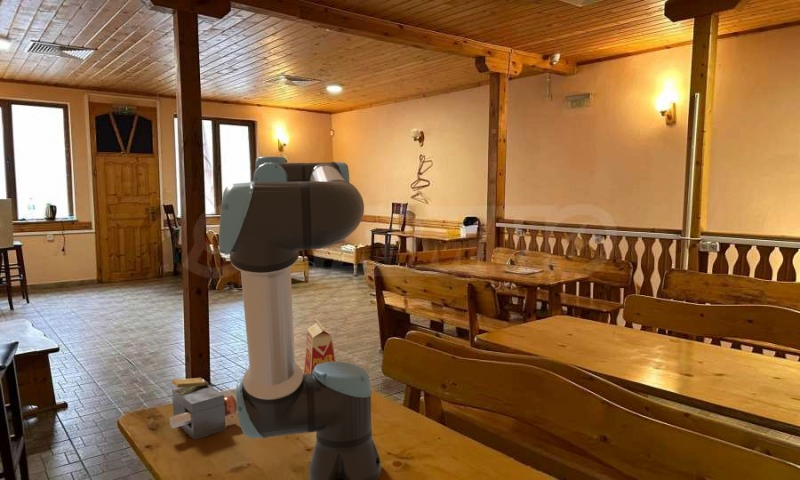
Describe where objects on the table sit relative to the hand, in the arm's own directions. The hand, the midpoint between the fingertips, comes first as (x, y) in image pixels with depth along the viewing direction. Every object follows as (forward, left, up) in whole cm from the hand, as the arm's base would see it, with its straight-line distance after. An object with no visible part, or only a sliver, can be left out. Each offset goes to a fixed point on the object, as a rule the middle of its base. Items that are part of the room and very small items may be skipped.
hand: (277, 309), depth 142 cm
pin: (+6, +19, -27) cm, 33 cm away
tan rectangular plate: (+14, +19, -19) cm, 30 cm away
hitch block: (+10, +18, -29) cm, 36 cm away
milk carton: (+12, -20, -29) cm, 37 cm away
